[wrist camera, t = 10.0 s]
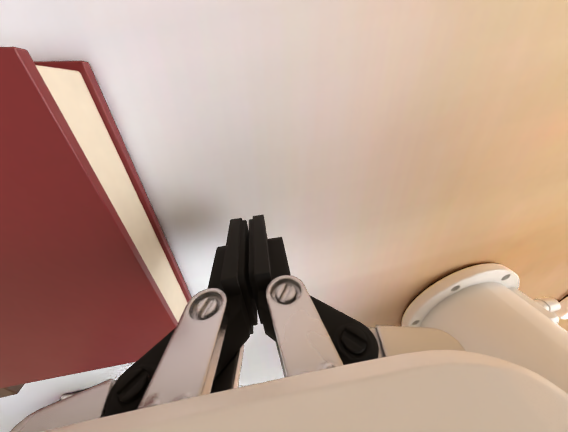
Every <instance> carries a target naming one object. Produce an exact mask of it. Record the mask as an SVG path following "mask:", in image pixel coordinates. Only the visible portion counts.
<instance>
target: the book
mask: <svg viewBox="0 0 568 432" xmlns="http://www.w3.org/2000/svg"><path fill="white" fill-rule="evenodd" d="M191 298H192V297H191V295H190V292H189V290H188V288H187V286H186V283H185V281H184V279H183V277H182V274H181V272H180V270H179V267H178V265H177V263H176V261H175V258H174V256H173V254H172V251H171V249H170V247H169V245H168V242H167V240H166V238H165V236H164V233H163V231H162V229H161V226H160V224H159V222H158V220H157V217H156V215H155V213H154V210H153V208H152V206H151V204H150V201H149V199H148V197H147V195H146V192H145V190H144V188H143V185H142V183H141V181H140V179H139V176H138V174H137V172H136V169H135V167H134V165H133V163H132V160H131V158H130V156H129V154H128V151H127V149H126V147H125V144H124V142H123V140H122V138H121V135H120V133H119V131H118V128H117V126H116V124H115V122H114V119H113V117H112V115H111V113H110V110H109V108H108V106H107V103H106V101H105V99H104V97H103V94H102V92H101V90H100V87H99V85H98V83H97V81H96V78H95V76H94V74H93V72H92V69H91V67H90V65H89V63H88V62H84V61H51V62H33V60H32V58H31V56H30V55H29V53H28V51H27V50H25V49H21V48H16V47H0V388H5V387H10V386H15V385H20V384H25V383H30V382H35V381H40V380H45V379H50V378H55V377H60V376H66V375H71V374H76V373H81V372H86V371H91V370H96V369H101V368H106V367H111V366H116V365H121V364H126V363H131V362H136V361H138V360H139V359H140V358H141V357H142V356H143V355H145V354H146V353H147V352H148V351H149V350H150V349H151V348H153V347H154V346H155V345H156V344H157V343H158V342H160V341H161V340H162V339H163V338H164V337H165V336H166V335H168V334H169V333H170V332H171V331H172V330H173V329H174V328H176V326H177V324H178V322H179V320H180V318H181V315H182V313H183V311H184V309H185V307H186V305H187V304H188V302H189V300H190V299H191Z"/></svg>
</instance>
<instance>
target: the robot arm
mask: <svg viewBox="0 0 568 432" xmlns="http://www.w3.org/2000/svg"><path fill="white" fill-rule="evenodd" d="M518 287H519V277H518V275H517V274H516V273H514V272H513V271H512V270H510V269H509V268H507V267H505V266H503V265H501V264H495V263H489V264H480V265H475V266H471V267H468V268H465V269H462V270H459V271H457V272H455V273H452V274H450V275H448V276H446V277H444V278H443V279H441V280H439V281H437V282H436V283H434V284H433V285H431V286H430V287H429V288H427V289H426V290H425V291H423V292H422V293H421V294H420V295H419V296H418V297H417V298H416V299H415V300H414V301H413V302H412V303H411V304H410V305H409V307H408V308H407V309H406V311H405V313H404V315H403V318H402V323H401V324H402V326H384V325H376V328H368V327H366V326H365V325H363V324H362V323H360V322H358V321H357V320H355V319H353V318H351V317H349V316H347V315H345V314H344V313H342V312H340V311H338V310H336V309H334V308H332V307H331V306H329V305H327V304H325V303H323V302H321V301H319V300H318V299H316V298H314V297H312V296H310V295H309V294H308V291H307V289H306V287H305V285H304V284H303V282H302V281H301V280H300V279H298V278H297V277H294V276H291V275H290V270H289V266H288V261H287V257H286V253H285V248H284V244H283V240H282V237H278V238H272V239H267V233H266V227H265V221H264V215H258V216H253V219H250V220H249V230H248V226H247V221H246V220H243V221H242V218H238V219H231V220H230V225H229V231H228V237H227V243H226V246H222V247H218V248H217V250H216V254H215V258H214V263H213V267H212V272H211V276H210V281H209V285H208V289H205V290H203V291H200V292H199V293H197V294H196V295H194V296H193V297H192V298H191V299H190V300H189V302H188V304H187V305H186V307H185V309H184V311H183V313H182V315H181V318H180V320H179V322H178V324H177V326H176V328H174V329H173V330H172V331H171V332H170V333H169V334H168V335H166V336H165V337H164V338H163V339H162V340H161V341H160V342H158V343H157V344H156V345H155V346H154V347H153V348H151V349H150V350H149V351H148V352H147V353H146V354H145V355H143V356H142V357H141V358H140V359H139V360H138V361H136V362H135V363H134V364H133V365H132V366H131V367H130V368H128V369H127V370H126V371H125V372H124V373H123V374H122V375H121V376H120V377H119V378H118V380H115V381H114V380H113V379H109V380H107V381H105V382H102V383H100V384H98V385H95V386H93V387H91V388H88V389H86V390H84V391H81V392H79V393H76V394H74V395H72V396H69V397H67V398H65V399H62V400H60V401H58V402H55V403H53V404H51V405H48V406H46V407H43V408H41V409H39V410H37V411H35V412H34V413H32V414H30V415H28V416H27V417H26V418H24V419H23V420H22V421H21V422H20V423H18V424H17V425H16V426H15V427H14V428H13V429H12V430H11V431H10V432H568V332H567V331H566V330H564V329H563V328H562V327H560V326H559V325H557V323H558V322H559V318H558V316H557V315H556V314H555V313H554V311H557V310H560V309H561V305H560V303H559V302H558V301H557V300H556V299H554V298H552V297H542V298H538V299H534V300H532V299H531V298H530V297H528V296H527V295H525V294H524V293H523V292H521V291H520V290H518ZM257 311H258V315H259V318H260V322H261V324H263V326H264V330H265V334H266V335H268V336H269V337H270V338H272V339H273V340H274V341H276V346H277V350H278V354H279V358H280V362H281V366H282V369H283V373H284V377H285V378H281V379H276V380H272V381H267V382H262V383H258V384H253V385H248V386H244V387H239V388H238V383H239V377H240V371H241V365H242V359H243V352H244V343H245V342H246V341H247V339H248V338H249V337H250V334H253V325H257Z"/></svg>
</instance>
